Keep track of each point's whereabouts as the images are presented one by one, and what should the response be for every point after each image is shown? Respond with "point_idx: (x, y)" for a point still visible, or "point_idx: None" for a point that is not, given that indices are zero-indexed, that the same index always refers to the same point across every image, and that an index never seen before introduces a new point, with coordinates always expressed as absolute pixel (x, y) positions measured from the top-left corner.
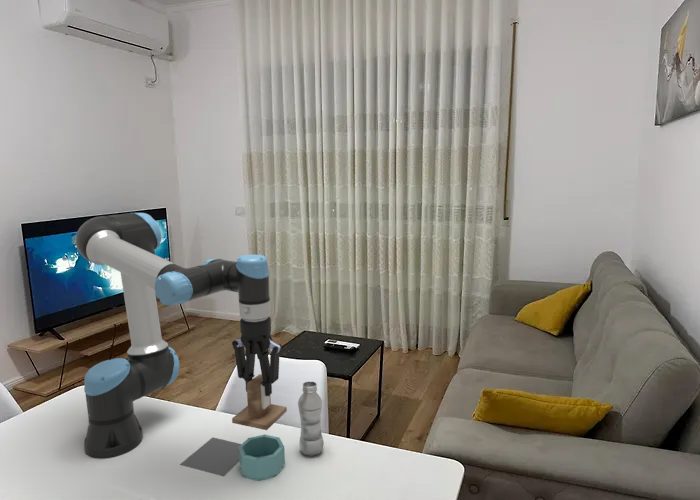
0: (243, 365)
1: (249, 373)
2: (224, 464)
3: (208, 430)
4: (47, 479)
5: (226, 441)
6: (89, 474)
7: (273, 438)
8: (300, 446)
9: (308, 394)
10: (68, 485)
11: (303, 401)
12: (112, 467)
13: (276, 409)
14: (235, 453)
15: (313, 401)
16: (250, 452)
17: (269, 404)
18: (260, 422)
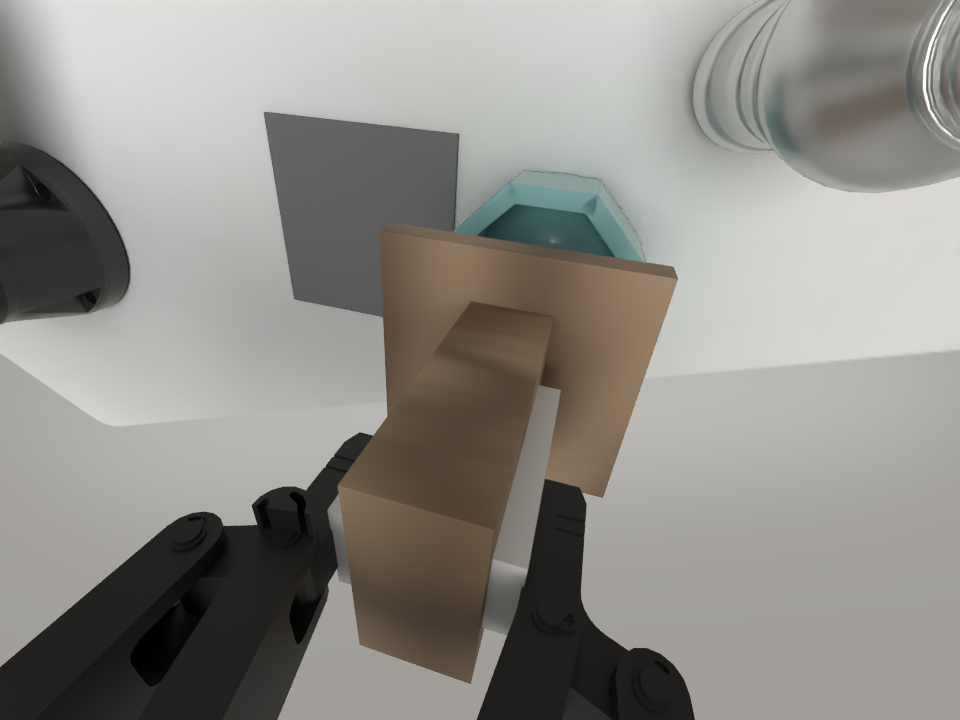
0: (112, 707)
1: (289, 677)
2: None
3: (208, 52)
4: (111, 385)
5: (331, 126)
6: (154, 362)
7: (568, 209)
8: (705, 133)
9: None
10: (160, 397)
11: (865, 174)
12: (166, 332)
13: (602, 327)
14: (412, 200)
15: None
16: (480, 234)
17: (559, 395)
18: (554, 470)
